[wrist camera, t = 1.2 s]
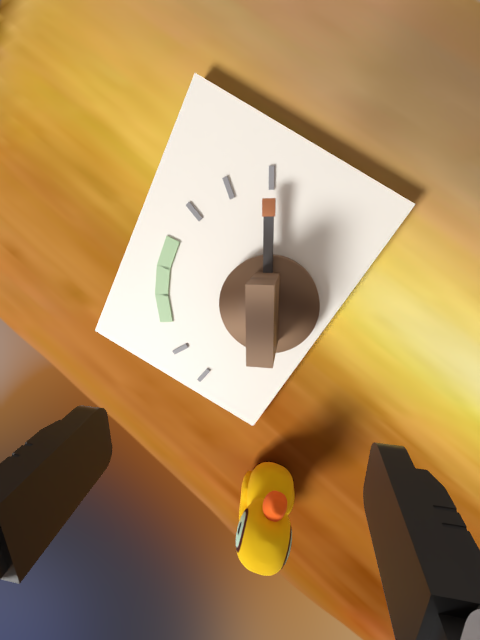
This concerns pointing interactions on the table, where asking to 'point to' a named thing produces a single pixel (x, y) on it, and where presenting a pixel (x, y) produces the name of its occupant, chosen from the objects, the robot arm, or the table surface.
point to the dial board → (238, 243)
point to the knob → (269, 300)
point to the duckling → (265, 518)
